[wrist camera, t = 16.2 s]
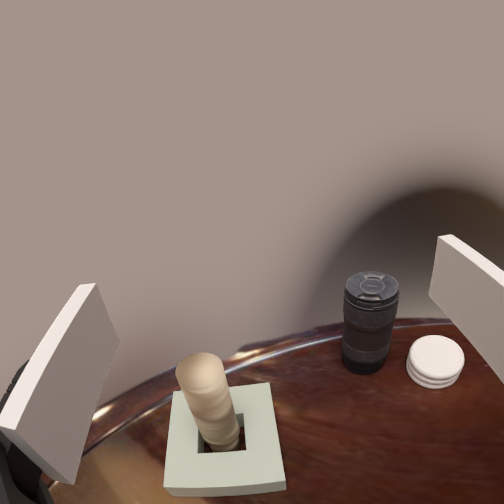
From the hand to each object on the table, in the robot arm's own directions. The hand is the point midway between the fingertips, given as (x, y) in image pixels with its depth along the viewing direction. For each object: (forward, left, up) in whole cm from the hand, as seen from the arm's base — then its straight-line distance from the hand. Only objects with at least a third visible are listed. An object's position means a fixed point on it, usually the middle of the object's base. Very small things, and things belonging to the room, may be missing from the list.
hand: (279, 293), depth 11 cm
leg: (+7, -13, -32) cm, 35 cm away
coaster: (-27, -19, -32) cm, 46 cm away
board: (+7, -13, -32) cm, 35 cm away
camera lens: (-16, -25, -32) cm, 44 cm away
